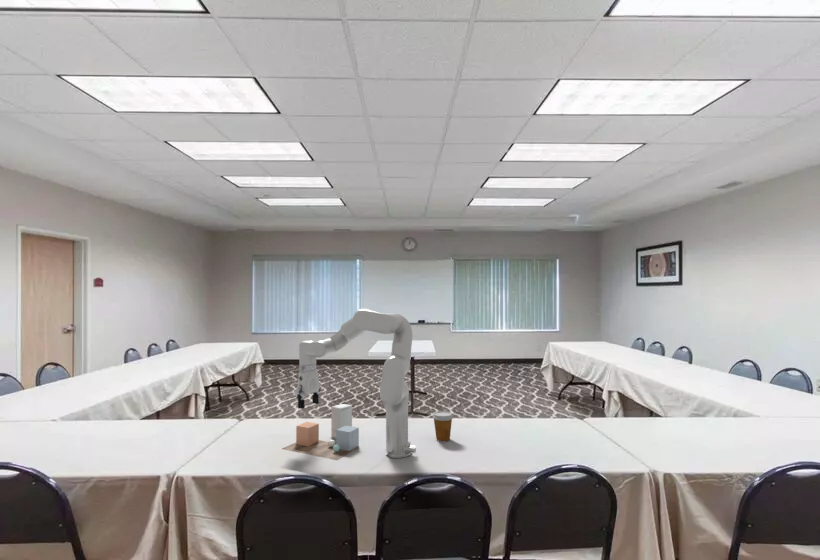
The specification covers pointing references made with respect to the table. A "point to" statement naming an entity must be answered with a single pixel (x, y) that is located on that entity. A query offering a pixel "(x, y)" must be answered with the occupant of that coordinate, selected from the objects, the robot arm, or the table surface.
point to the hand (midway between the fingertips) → (308, 405)
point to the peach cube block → (307, 433)
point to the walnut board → (319, 450)
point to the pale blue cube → (347, 437)
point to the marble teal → (336, 448)
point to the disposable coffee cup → (442, 425)
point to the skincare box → (340, 417)
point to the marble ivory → (331, 443)
